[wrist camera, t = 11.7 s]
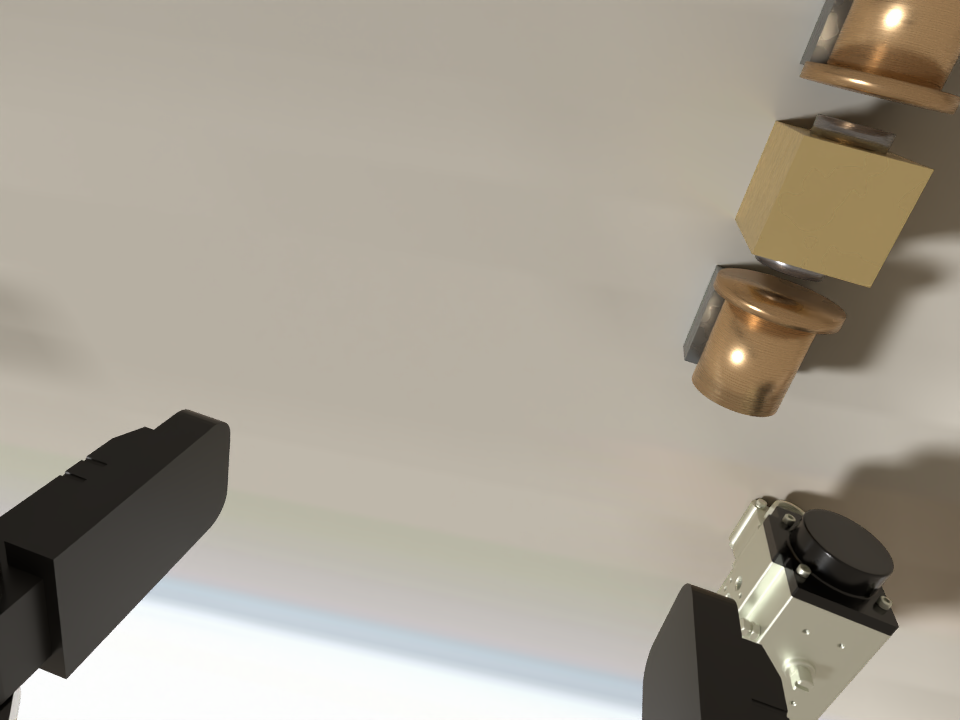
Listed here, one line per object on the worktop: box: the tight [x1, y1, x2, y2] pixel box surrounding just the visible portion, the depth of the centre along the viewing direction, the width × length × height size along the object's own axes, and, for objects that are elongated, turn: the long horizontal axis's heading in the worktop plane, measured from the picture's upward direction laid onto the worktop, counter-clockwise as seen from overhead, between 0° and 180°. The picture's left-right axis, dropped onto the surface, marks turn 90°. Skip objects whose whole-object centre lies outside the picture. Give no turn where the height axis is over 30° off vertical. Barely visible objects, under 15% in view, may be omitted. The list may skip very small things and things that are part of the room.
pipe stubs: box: [683, 0, 960, 417], centre depth 30 cm, size 6×20×7 cm, turn 167°
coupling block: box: [735, 114, 934, 288], centre depth 30 cm, size 7×5×7 cm
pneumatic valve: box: [717, 498, 899, 720], centre depth 36 cm, size 6×12×12 cm, turn 163°
